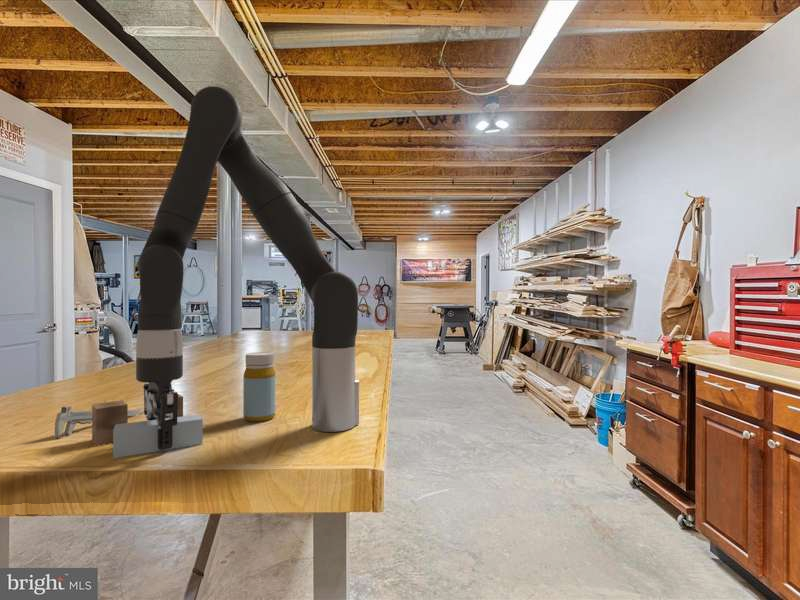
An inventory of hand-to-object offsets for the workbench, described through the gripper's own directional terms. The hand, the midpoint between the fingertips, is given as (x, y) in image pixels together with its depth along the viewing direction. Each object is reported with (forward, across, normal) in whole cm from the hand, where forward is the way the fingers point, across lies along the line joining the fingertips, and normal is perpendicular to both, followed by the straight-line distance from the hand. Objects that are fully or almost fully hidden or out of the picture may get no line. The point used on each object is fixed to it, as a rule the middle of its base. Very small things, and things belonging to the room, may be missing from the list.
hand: (159, 443), depth 77 cm
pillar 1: (+1, +12, +6) cm, 13 cm away
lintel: (+1, 0, 0) cm, 1 cm away
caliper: (+1, +25, +5) cm, 26 cm away
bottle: (+1, +6, -22) cm, 23 cm away
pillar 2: (+1, +12, -4) cm, 12 cm away
